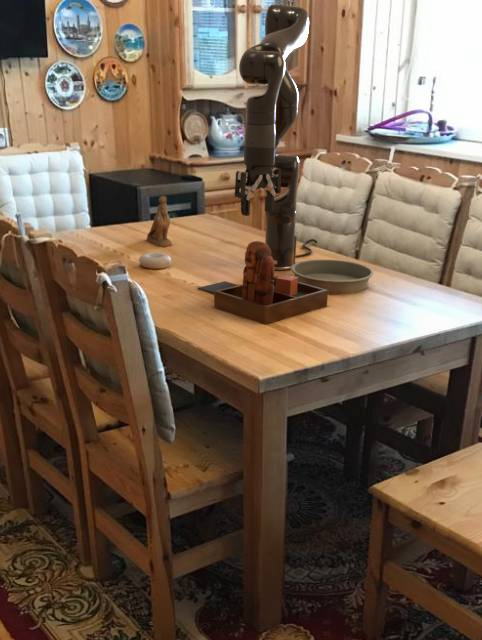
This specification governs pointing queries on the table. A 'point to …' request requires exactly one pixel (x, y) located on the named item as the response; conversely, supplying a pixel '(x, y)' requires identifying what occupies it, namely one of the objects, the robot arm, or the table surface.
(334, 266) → the cake pan
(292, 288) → the terracotta block
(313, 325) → the table surface
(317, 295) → the walnut tray
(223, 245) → the table surface
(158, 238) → the worn brown figurine
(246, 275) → the wooden figurine
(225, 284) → the rubber mat
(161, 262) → the donut
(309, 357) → the table surface
